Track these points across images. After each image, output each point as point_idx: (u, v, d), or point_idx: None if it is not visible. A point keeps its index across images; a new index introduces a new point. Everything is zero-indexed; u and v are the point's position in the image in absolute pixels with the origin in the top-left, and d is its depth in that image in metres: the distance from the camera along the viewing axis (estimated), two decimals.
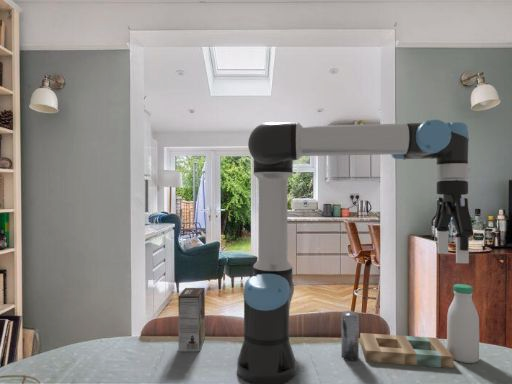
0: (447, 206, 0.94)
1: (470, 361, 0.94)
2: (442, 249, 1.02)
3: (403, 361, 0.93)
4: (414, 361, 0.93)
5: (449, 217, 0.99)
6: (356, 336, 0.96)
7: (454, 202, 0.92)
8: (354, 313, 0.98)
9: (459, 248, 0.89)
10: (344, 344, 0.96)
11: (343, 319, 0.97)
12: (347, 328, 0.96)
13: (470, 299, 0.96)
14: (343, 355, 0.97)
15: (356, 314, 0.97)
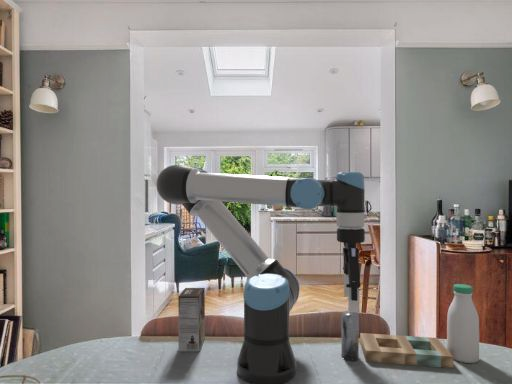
0: (344, 254, 0.96)
1: (470, 361, 0.94)
2: (348, 292, 1.04)
3: (403, 361, 0.93)
4: (414, 361, 0.93)
5: None
6: (356, 336, 0.96)
7: None
8: (354, 313, 0.98)
9: (350, 298, 0.91)
10: (344, 344, 0.96)
11: (343, 319, 0.97)
12: (347, 328, 0.96)
13: (470, 299, 0.96)
14: (343, 355, 0.97)
15: (356, 314, 0.97)
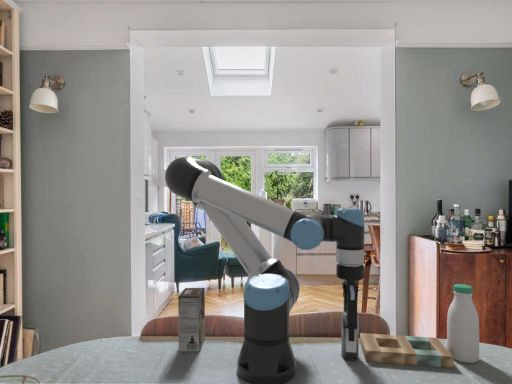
0: (343, 291, 0.96)
1: (470, 361, 0.94)
2: None
3: (403, 361, 0.93)
4: (414, 361, 0.93)
5: None
6: (356, 336, 0.96)
7: (348, 290, 0.94)
8: None
9: (347, 338, 0.95)
10: (344, 344, 0.96)
11: (343, 319, 0.97)
12: None
13: (470, 299, 0.96)
14: (343, 355, 0.97)
15: None
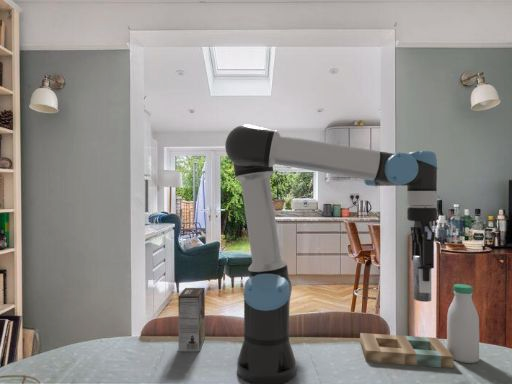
0: (416, 233, 0.97)
1: (470, 361, 0.94)
2: None
3: (403, 361, 0.93)
4: (414, 361, 0.93)
5: None
6: None
7: (422, 230, 0.95)
8: None
9: (422, 279, 0.95)
10: (417, 285, 0.97)
11: (416, 261, 0.97)
12: None
13: (470, 299, 0.96)
14: (416, 297, 0.97)
15: None
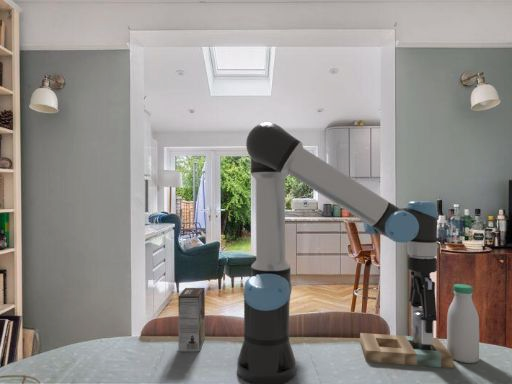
0: (416, 283, 0.97)
1: (470, 361, 0.94)
2: None
3: (403, 361, 0.93)
4: (414, 361, 0.93)
5: None
6: None
7: (423, 281, 0.95)
8: None
9: (424, 330, 0.93)
10: (417, 343, 0.97)
11: (416, 318, 0.97)
12: (421, 327, 0.96)
13: (470, 299, 0.96)
14: None
15: None
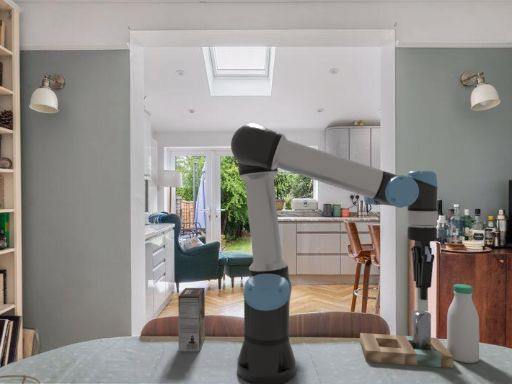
0: (416, 252, 0.97)
1: (470, 361, 0.94)
2: None
3: (403, 361, 0.93)
4: (414, 361, 0.93)
5: None
6: (429, 335, 0.96)
7: (422, 251, 0.95)
8: (425, 312, 0.99)
9: (419, 297, 0.98)
10: (417, 343, 0.97)
11: (415, 318, 0.97)
12: (420, 327, 0.96)
13: (470, 299, 0.96)
14: None
15: (428, 313, 0.98)
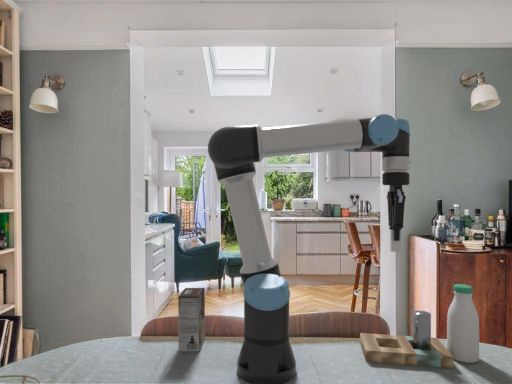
0: (390, 196, 1.03)
1: (470, 361, 0.94)
2: None
3: (403, 361, 0.93)
4: (414, 361, 0.93)
5: None
6: (429, 335, 0.96)
7: (395, 193, 1.01)
8: (425, 312, 0.99)
9: (393, 239, 1.04)
10: (417, 343, 0.97)
11: (415, 318, 0.97)
12: (420, 327, 0.96)
13: (470, 299, 0.96)
14: None
15: (428, 313, 0.98)
